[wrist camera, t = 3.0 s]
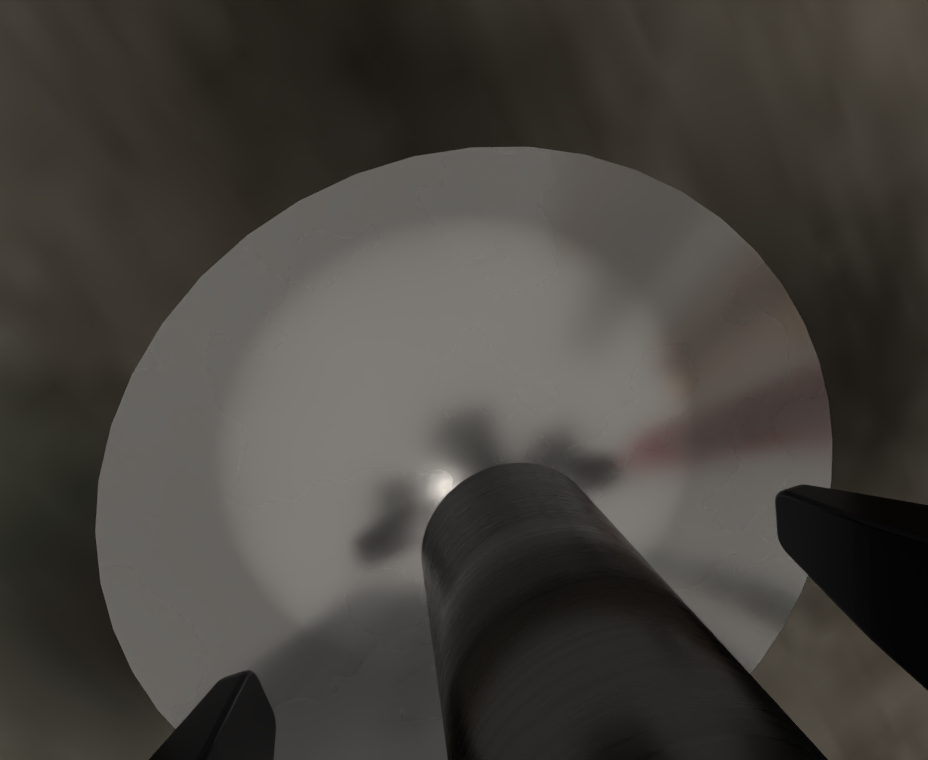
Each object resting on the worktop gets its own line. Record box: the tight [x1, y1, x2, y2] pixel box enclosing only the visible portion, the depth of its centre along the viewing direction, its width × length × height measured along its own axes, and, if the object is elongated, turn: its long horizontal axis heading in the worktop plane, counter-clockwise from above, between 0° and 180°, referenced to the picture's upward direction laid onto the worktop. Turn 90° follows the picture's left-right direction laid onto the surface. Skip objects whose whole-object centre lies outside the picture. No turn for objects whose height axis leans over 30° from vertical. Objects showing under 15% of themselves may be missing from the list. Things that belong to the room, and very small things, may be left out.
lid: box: [95, 147, 833, 760], centre depth 6 cm, size 13×13×6 cm
